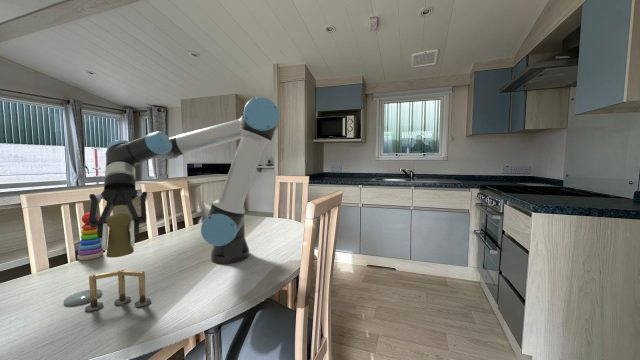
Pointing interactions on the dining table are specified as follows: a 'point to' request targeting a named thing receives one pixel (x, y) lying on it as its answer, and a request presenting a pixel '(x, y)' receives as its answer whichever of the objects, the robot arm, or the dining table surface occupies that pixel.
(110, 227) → the cork
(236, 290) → the dining table surface
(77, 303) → the coaster
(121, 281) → the rail
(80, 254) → the stacking toy
